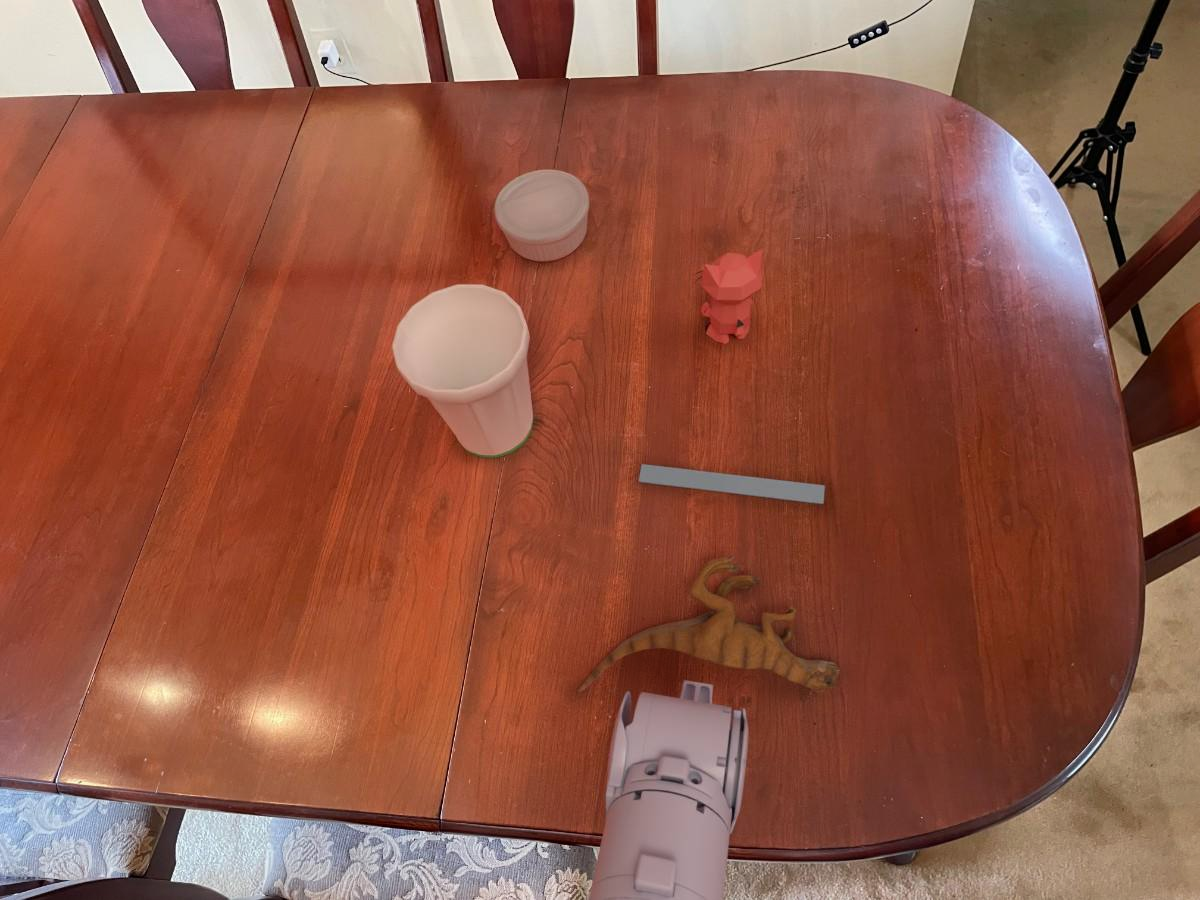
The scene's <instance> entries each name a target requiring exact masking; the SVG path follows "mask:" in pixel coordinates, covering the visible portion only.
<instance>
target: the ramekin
mask: <svg viewBox="0 0 1200 900" xmlns="http://www.w3.org/2000/svg"><path fill="white" fill-rule="evenodd" d="M493 209H494V217H495V221H496V224H497V226H498V227H499V229H500V230H501V232H502V233H503V235H504V236H505V239H506V241H507V242H508V244H509V246H510V248H511V249H512V250H513V251H514V252H515V253H517V255H519V256H521V257H522V258H524V259H527V260H529V261H534V262H544V263H545V262H547V263H548V262H554V261H557V260H561V259H562V258H565V257H567V256H569V255H570V254H572V253H573V252H574V251H576V250H577V249H578V248H579V246H581V244H582V242H583V241H584V240H585V237H586V234H587V232H588V219H589V211H590V196H589V193H588V190H587V187H586V186H585V184H584V182H582V180H580V179H579V178H578V177H576V176H575V175H573V174H571V173H569V172H566V171H563V170H560V169H559V170H558V169H538V170H533V171H529V172H526V173H523V174H521V175H519V176H517V177H514V179H512V180H511V181H509V182H508V183H507V184H506V185H505V186H503V188H502V189H501V190H500V191H499V193H498V194H497V197H495V202H494V207H493Z"/></svg>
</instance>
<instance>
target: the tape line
mask: <svg viewBox="0 0 1200 900" xmlns="http://www.w3.org/2000/svg"><path fill="white" fill-rule="evenodd" d="M637 481H638V483H643V484H651V485H658V486H667V487H674V488H675V487H676V488H682V489H691V490H692V489H693V490H698V491H699V490H700V491H707V492H714V493H715V492H716V493H724V494H725V493H726V494H734V495H740V496H749V497H758V498H766V499H772V500H783V501H791V502H798V503H806V504H815V505H824V504H825V489H826V485H824V484H816V483H808V482H807V483H806V482H799V481H791V480H782V479H781V480H780V479H773V478H765V477H756V476H747V475H739V474H730V473H722V472H713V471H705V470H698V469H697V470H696V469H688V468H678V467H671V466H662V465H653V464H646V463H641V466H640V471H639V476H638V480H637Z"/></svg>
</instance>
